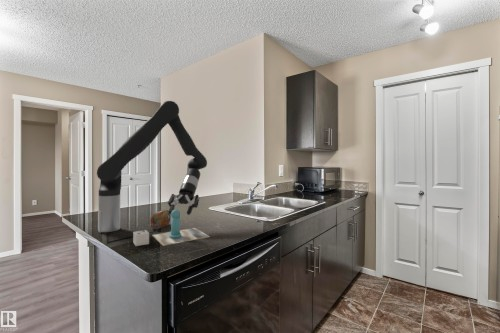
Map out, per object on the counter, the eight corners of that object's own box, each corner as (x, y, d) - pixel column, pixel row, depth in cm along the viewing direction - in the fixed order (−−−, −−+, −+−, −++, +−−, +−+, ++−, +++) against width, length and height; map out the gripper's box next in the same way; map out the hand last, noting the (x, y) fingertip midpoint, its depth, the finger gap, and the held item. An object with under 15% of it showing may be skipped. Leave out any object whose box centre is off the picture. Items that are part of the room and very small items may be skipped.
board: (163, 246, 97) (163, 245, 97) (151, 235, 111) (151, 234, 111) (210, 237, 110) (210, 236, 110) (194, 228, 123) (194, 227, 123)
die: (135, 247, 96) (135, 234, 96) (133, 243, 100) (133, 231, 100) (149, 245, 99) (149, 232, 99) (146, 241, 103) (146, 229, 103)
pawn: (171, 239, 105) (171, 211, 105) (167, 236, 109) (167, 209, 109) (183, 237, 108) (183, 210, 108) (178, 234, 112) (179, 208, 112)
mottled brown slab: (154, 231, 117) (154, 214, 117) (149, 231, 118) (149, 214, 118) (171, 224, 132) (171, 208, 132) (165, 223, 133) (165, 208, 132)
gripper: (173, 181, 122) (162, 208, 110) (200, 182, 120) (191, 209, 108) (178, 190, 127) (167, 217, 116) (204, 191, 125) (196, 218, 114)
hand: (179, 213), depth 112 cm, fingers open, 8 cm apart
